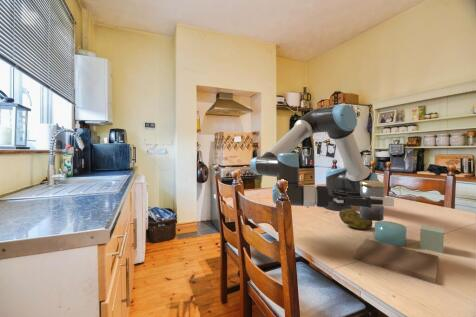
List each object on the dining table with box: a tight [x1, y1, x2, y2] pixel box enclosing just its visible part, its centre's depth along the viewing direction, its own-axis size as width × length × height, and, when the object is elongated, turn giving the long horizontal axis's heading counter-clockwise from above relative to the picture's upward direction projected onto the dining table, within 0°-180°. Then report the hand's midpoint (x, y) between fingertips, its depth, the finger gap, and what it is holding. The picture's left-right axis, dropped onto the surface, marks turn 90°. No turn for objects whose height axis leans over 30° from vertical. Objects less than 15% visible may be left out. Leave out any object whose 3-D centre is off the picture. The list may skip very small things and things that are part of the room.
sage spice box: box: [419, 224, 445, 254], centre depth 78 cm, size 6×5×7 cm
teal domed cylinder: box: [374, 220, 407, 247], centre depth 85 cm, size 10×10×6 cm
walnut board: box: [352, 238, 439, 285], centre depth 71 cm, size 20×16×2 cm
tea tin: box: [359, 180, 386, 222], centre depth 76 cm, size 7×7×12 cm
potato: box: [338, 208, 373, 230], centre depth 99 cm, size 8×13×8 cm, turn 52°
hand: (388, 199), depth 74 cm, fingers closed on tea tin, 7 cm apart
